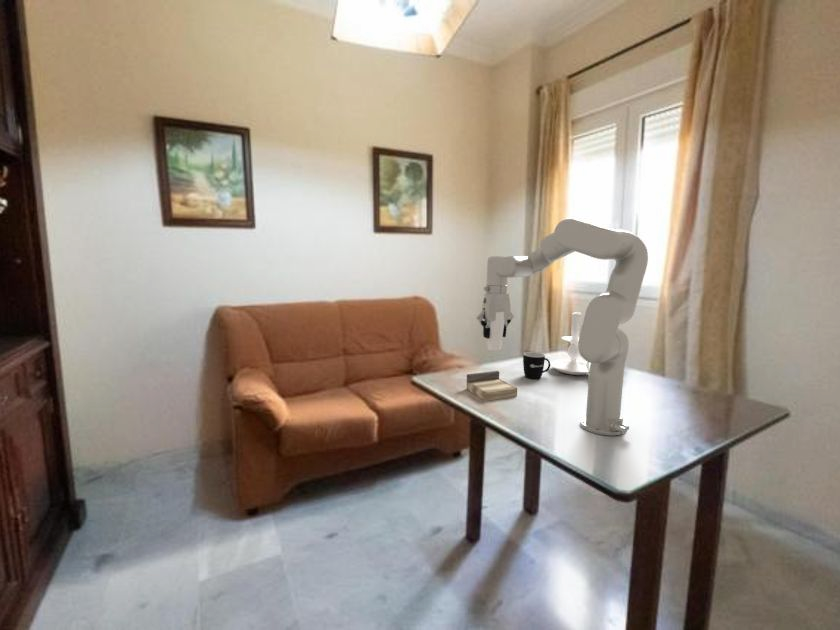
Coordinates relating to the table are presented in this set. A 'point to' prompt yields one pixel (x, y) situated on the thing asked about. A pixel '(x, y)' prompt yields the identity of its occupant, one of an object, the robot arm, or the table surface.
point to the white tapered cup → (496, 332)
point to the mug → (534, 364)
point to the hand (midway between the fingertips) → (494, 336)
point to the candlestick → (572, 352)
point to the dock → (489, 386)
